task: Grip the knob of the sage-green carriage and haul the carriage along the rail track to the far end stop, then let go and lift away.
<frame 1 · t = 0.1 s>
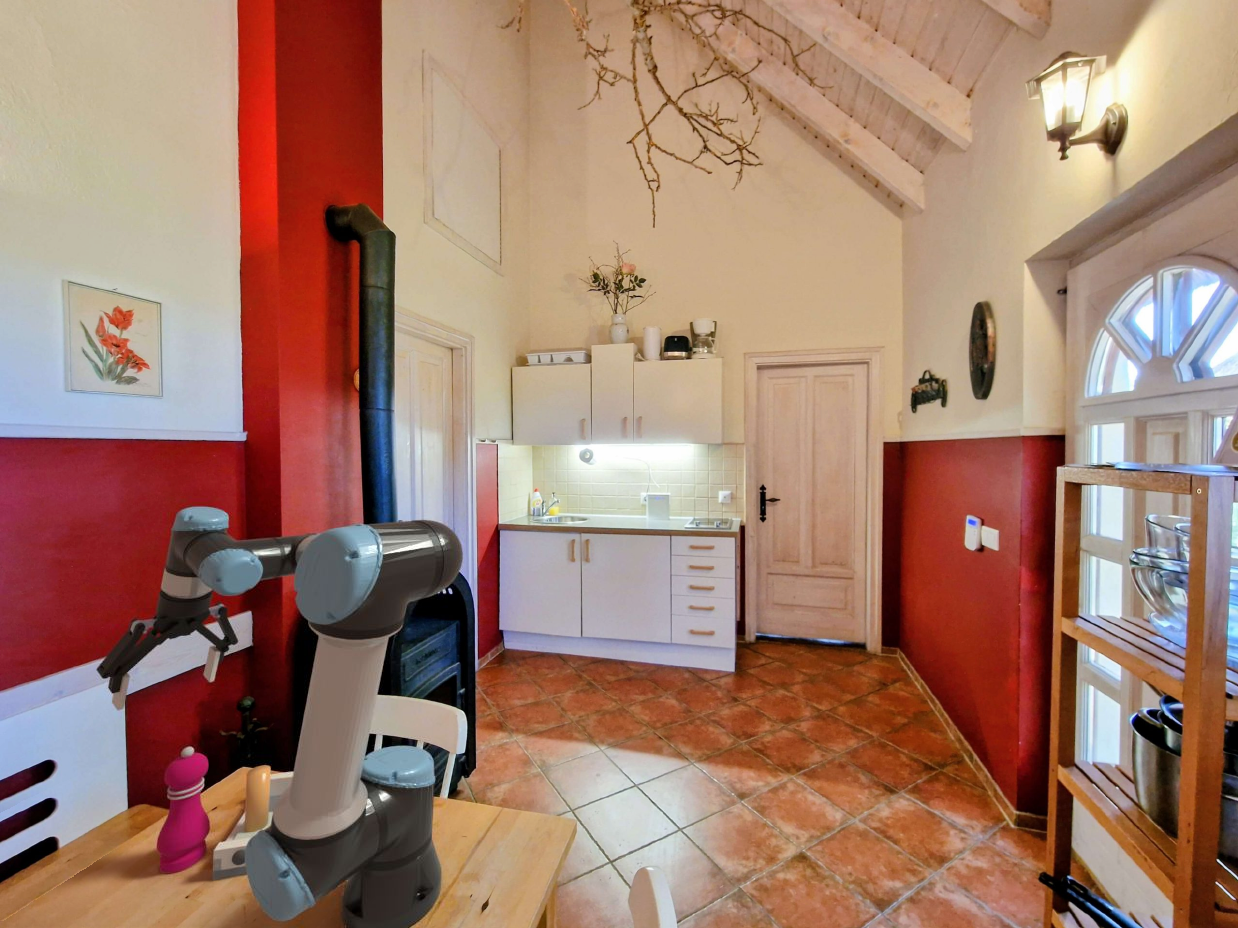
hand: (165, 691, 95), 28 cm above the table, tool tilted 20°, fingers open, 13 cm apart
pepper mill: (182, 860, 89), on the table
carriage: (257, 804, 93), point 8 cm above the table, slide at -4.5 cm
rail track: (265, 831, 97), on the table
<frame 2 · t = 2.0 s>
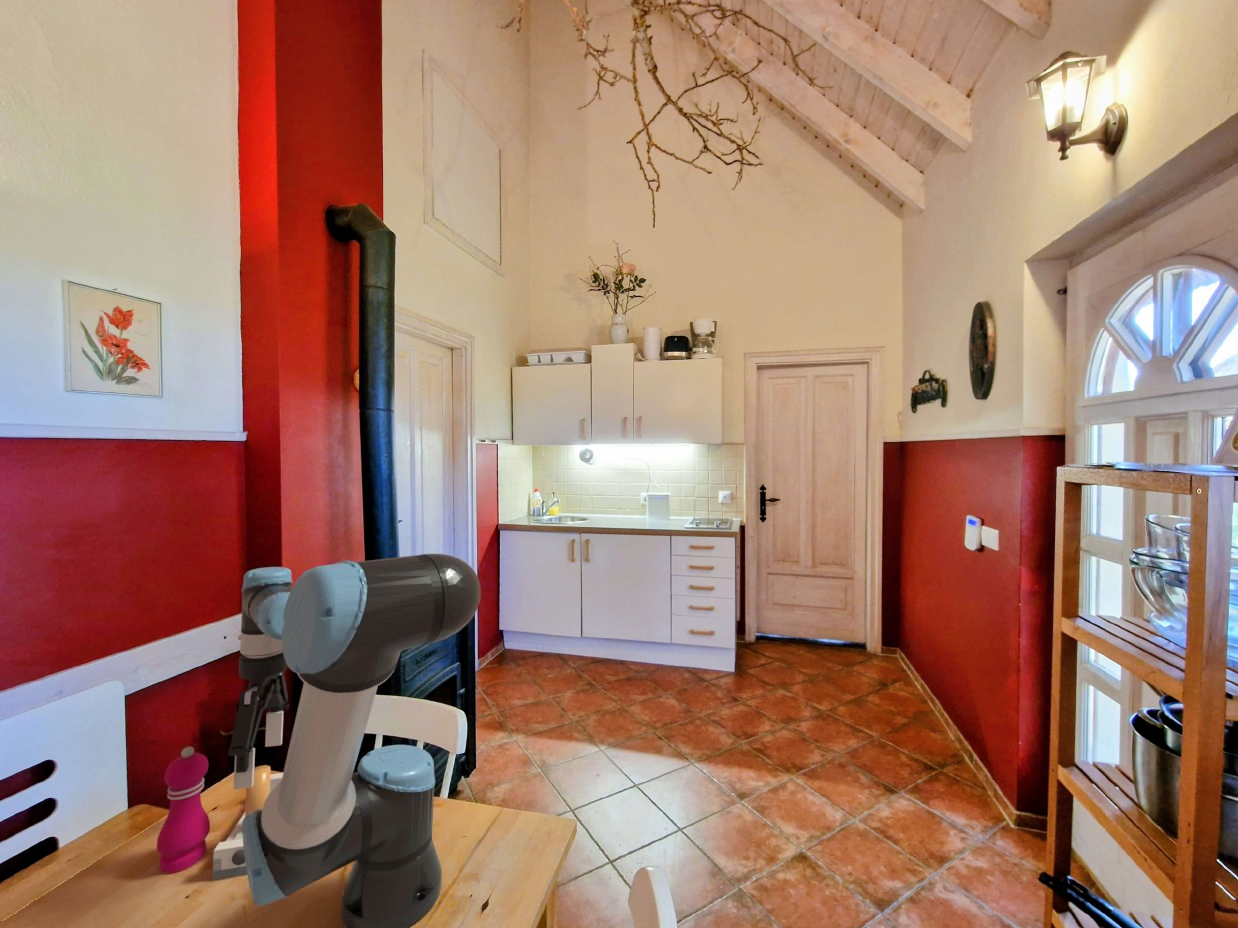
hand: (259, 764, 93), 15 cm above the table, tool pointing down, fingers open, 13 cm apart
nothing on the table moved.
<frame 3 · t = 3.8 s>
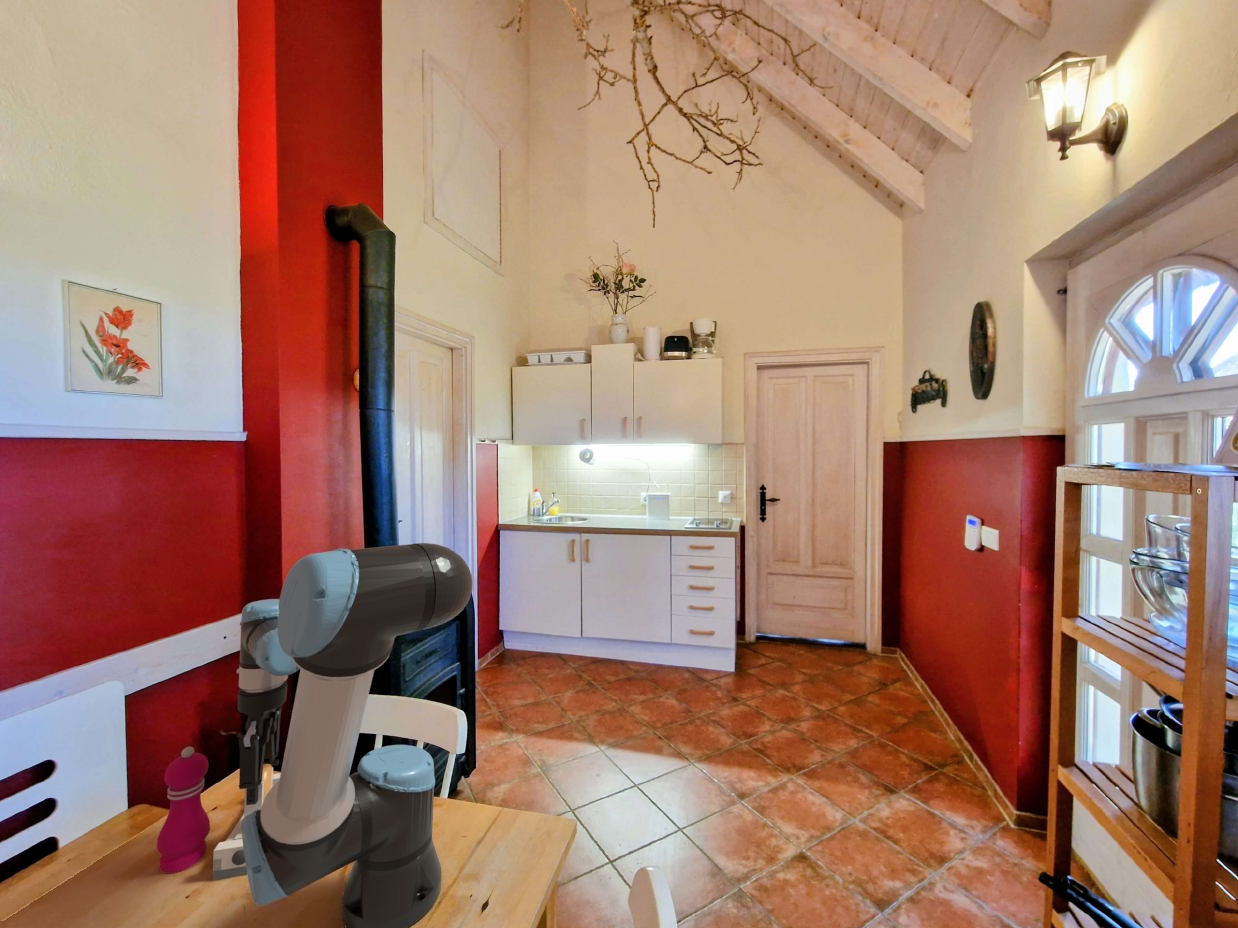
hand: (258, 810, 93), 7 cm above the table, tool pointing down, fingers closed on carriage, 4 cm apart
carriage: (258, 802, 93), point 8 cm above the table, slide at -4.0 cm, touching gripper
everything else where it was.
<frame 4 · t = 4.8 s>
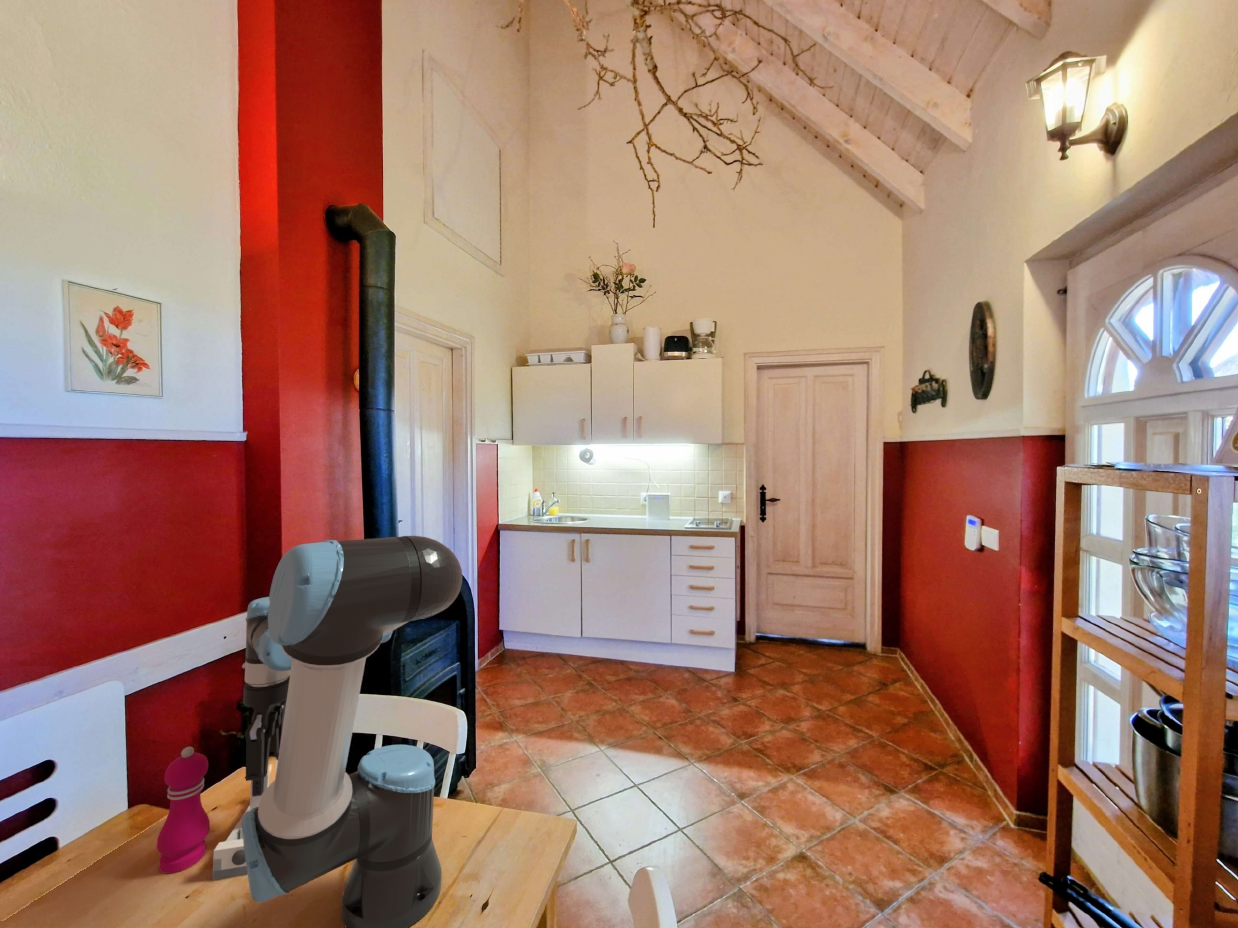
hand: (263, 801, 95), 7 cm above the table, tool pointing down, fingers closed on carriage, 4 cm apart
carriage: (263, 794, 95), point 8 cm above the table, slide at -1.5 cm, touching gripper
everything else where it was.
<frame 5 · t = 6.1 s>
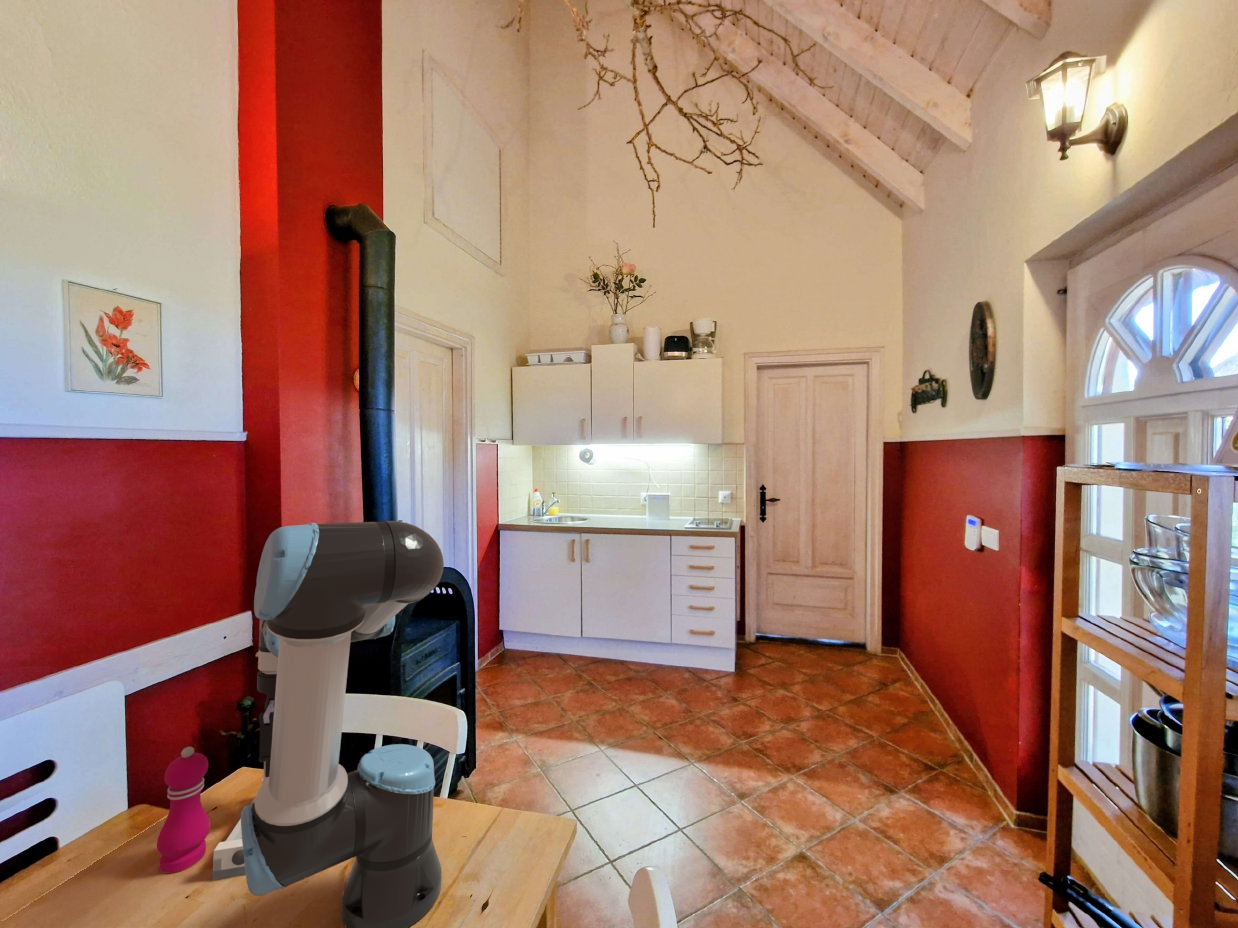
hand: (275, 782, 101), 7 cm above the table, tool pointing down, fingers closed on carriage, 4 cm apart
carriage: (275, 775, 101), point 8 cm above the table, slide at 4.5 cm, touching gripper
everything else where it was.
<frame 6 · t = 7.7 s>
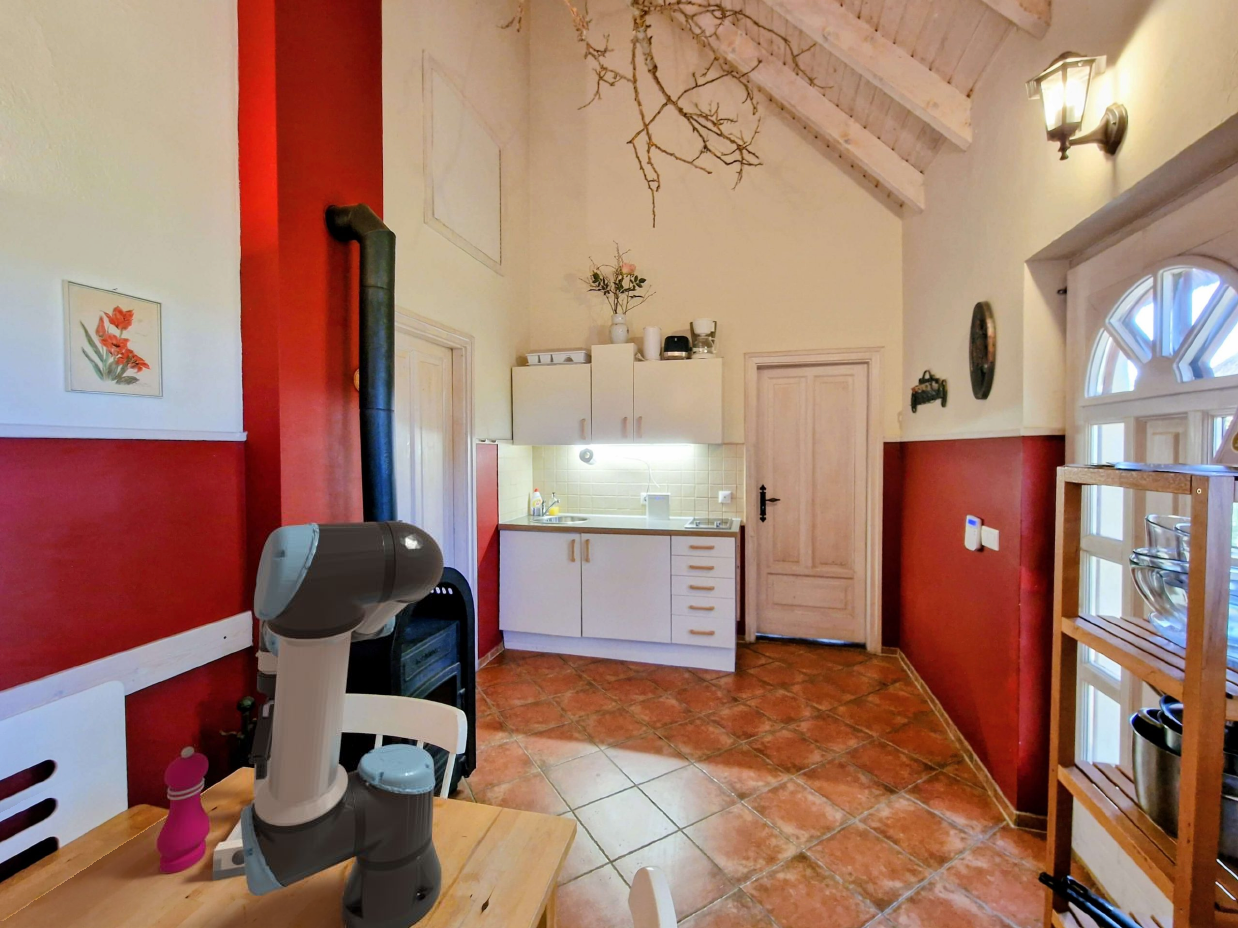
hand: (276, 772, 101), 9 cm above the table, tool pointing down, fingers open, 13 cm apart
carriage: (275, 775, 101), point 8 cm above the table, slide at 4.5 cm
everything else where it was.
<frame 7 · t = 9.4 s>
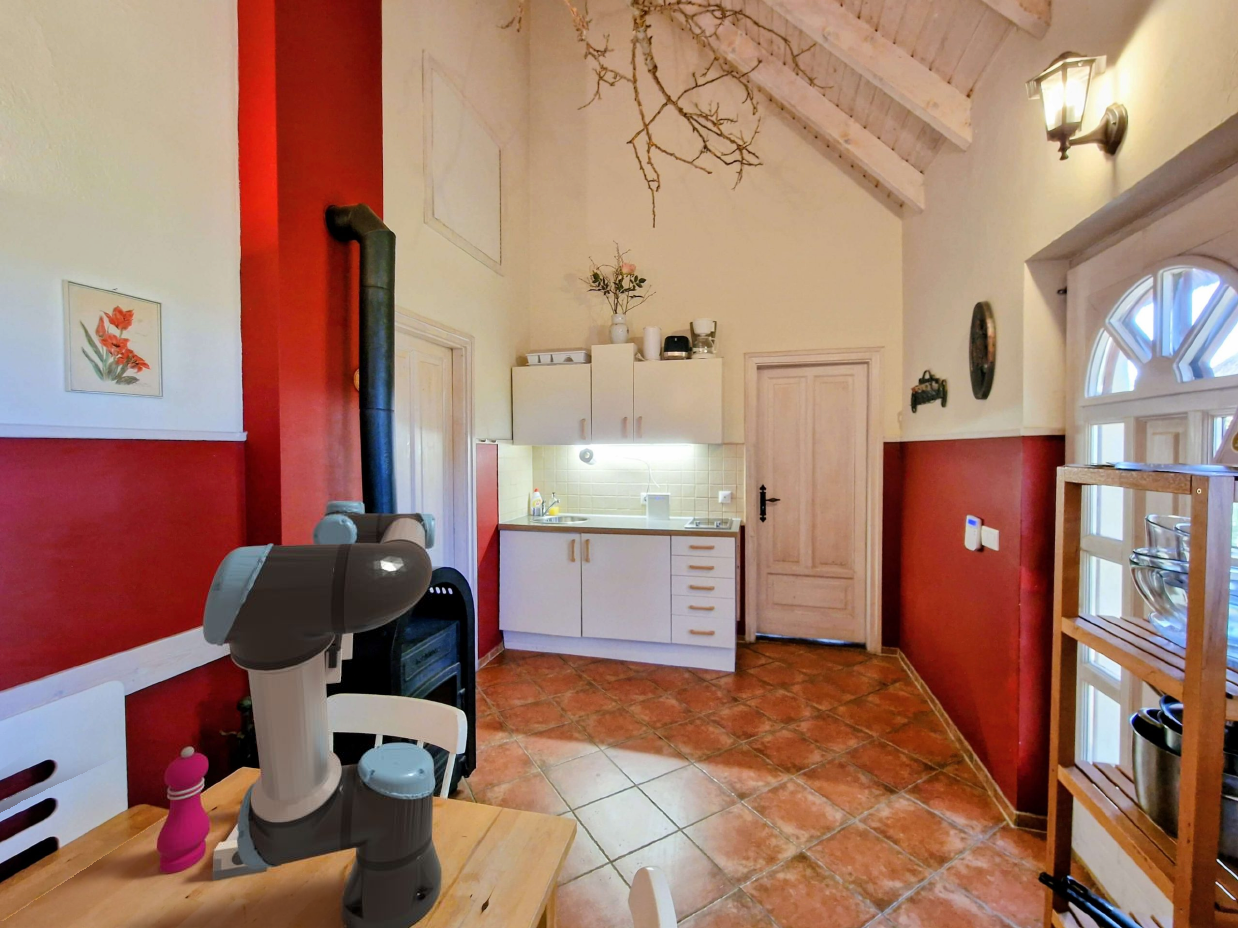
hand: (339, 670, 108), 27 cm above the table, tool pointing down, fingers open, 13 cm apart
nothing on the table moved.
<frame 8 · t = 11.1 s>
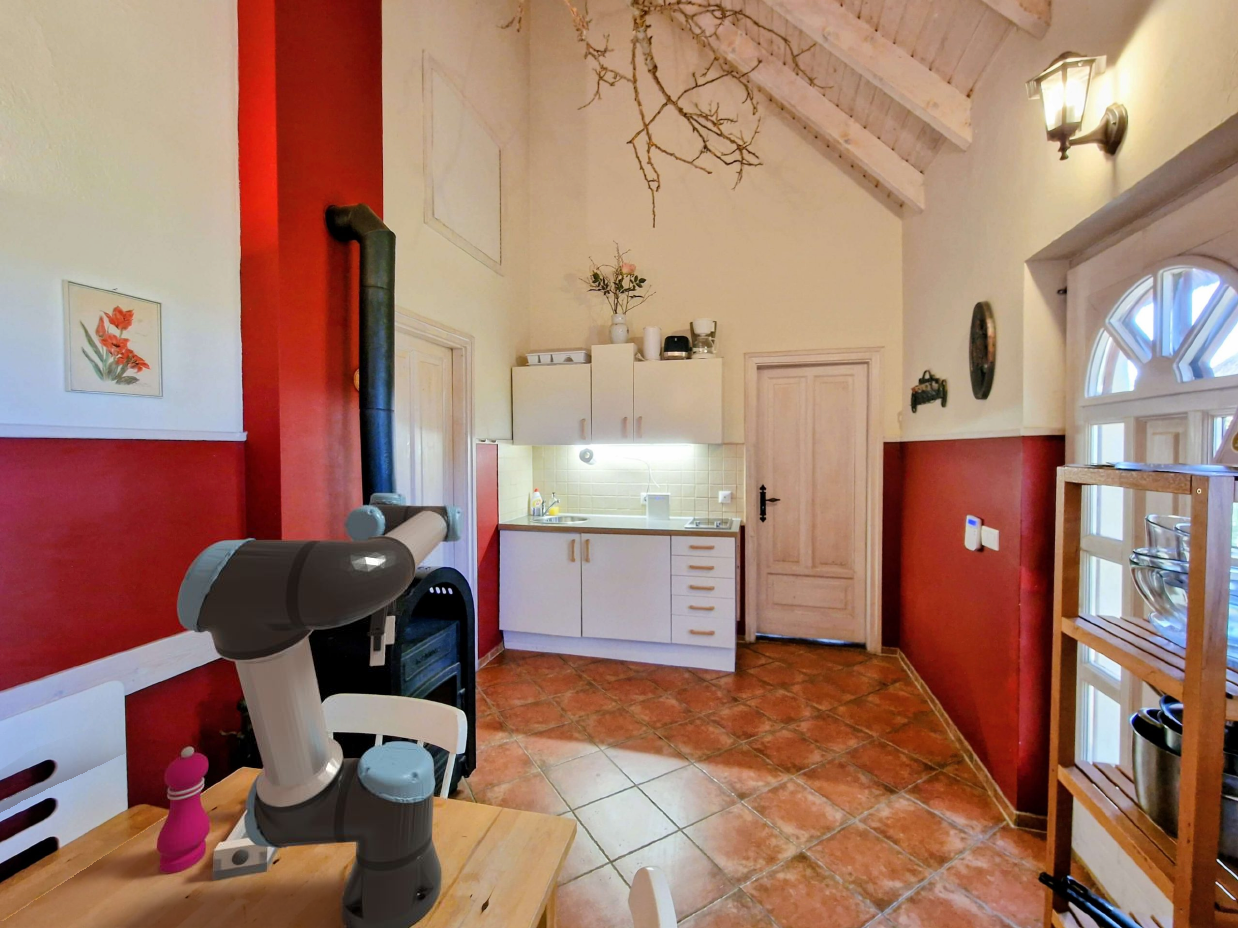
hand: (382, 653, 114), 29 cm above the table, tool pointing down, fingers open, 13 cm apart
nothing on the table moved.
at the end: carriage slide at 4.5 cm; the gripper is holding nothing; pepper mill moved 0.2 cm from its start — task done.
